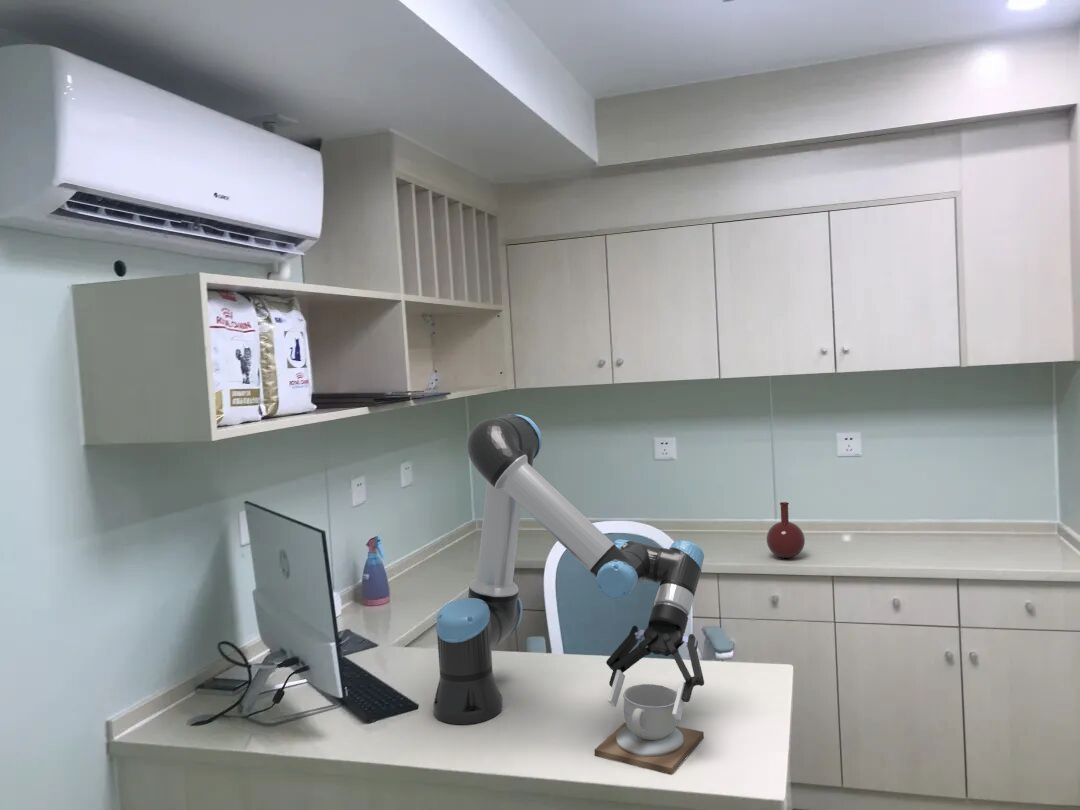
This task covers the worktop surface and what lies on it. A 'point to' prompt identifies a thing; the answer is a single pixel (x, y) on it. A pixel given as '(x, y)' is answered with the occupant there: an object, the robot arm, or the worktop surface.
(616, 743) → the walnut board
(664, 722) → the teacup
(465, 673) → the robot arm
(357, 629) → the worktop surface
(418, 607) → the worktop surface
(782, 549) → the round-bottom flask
